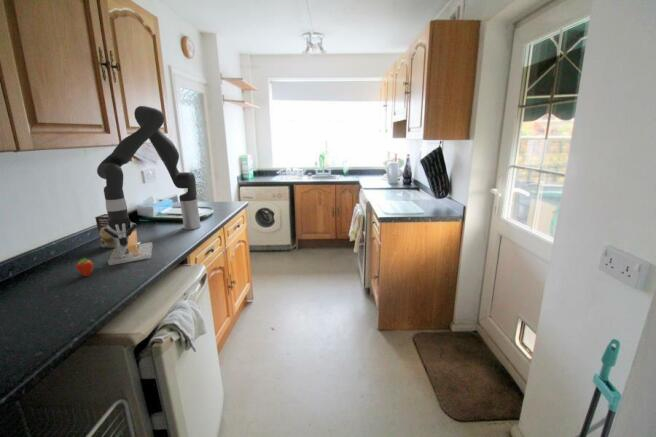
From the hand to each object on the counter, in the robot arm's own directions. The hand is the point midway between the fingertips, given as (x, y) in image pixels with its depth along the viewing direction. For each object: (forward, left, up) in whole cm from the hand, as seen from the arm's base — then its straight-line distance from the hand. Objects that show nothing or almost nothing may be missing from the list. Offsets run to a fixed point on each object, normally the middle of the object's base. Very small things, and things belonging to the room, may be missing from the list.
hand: (123, 245), depth 141 cm
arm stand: (-17, +2, -6) cm, 18 cm away
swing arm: (-5, +3, -1) cm, 6 cm away
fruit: (+15, -12, -6) cm, 20 cm away
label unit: (-2, +2, -6) cm, 7 cm away
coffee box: (-22, -8, -6) cm, 24 cm away
